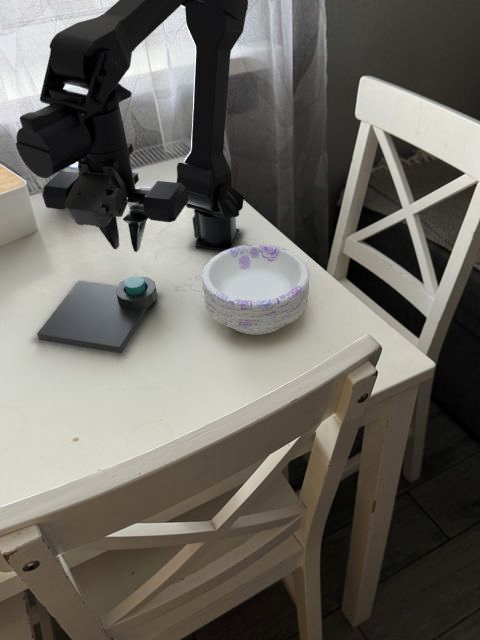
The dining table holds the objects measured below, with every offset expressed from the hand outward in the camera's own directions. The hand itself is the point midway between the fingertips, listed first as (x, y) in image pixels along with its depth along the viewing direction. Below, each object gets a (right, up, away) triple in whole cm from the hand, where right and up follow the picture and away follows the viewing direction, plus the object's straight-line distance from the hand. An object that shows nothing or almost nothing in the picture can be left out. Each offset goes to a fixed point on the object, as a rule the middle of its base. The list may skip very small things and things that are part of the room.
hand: (126, 249), depth 85 cm
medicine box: (-16, +14, +30) cm, 37 cm away
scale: (-5, -10, +5) cm, 12 cm away
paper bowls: (+19, -9, +4) cm, 21 cm away
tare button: (0, -5, +5) cm, 7 cm away
